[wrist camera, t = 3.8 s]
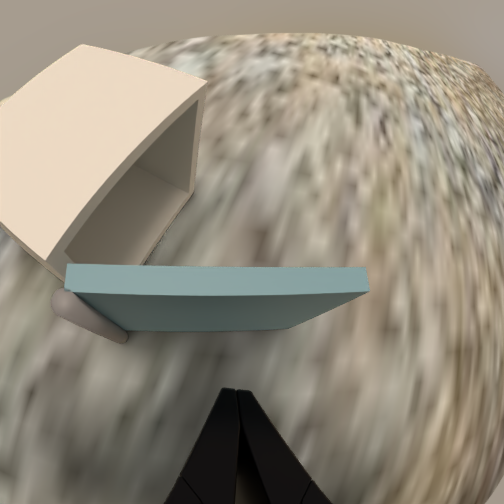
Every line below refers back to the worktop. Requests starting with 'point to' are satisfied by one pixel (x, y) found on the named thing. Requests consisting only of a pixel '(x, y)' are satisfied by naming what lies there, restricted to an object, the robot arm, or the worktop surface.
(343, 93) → the worktop surface
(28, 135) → the carton
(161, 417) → the worktop surface
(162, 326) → the flap
